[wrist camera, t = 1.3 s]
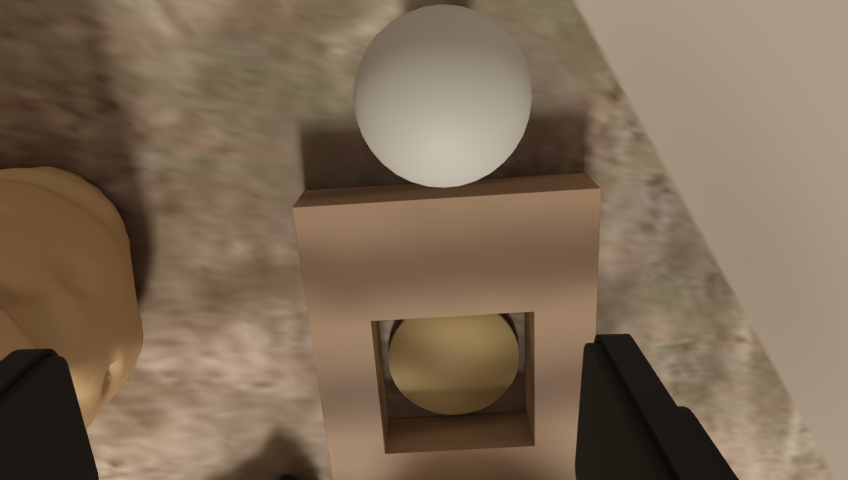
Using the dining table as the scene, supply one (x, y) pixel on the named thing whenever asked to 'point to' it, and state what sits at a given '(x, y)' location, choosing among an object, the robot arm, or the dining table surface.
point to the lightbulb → (442, 95)
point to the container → (68, 280)
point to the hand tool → (287, 477)
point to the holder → (451, 322)
